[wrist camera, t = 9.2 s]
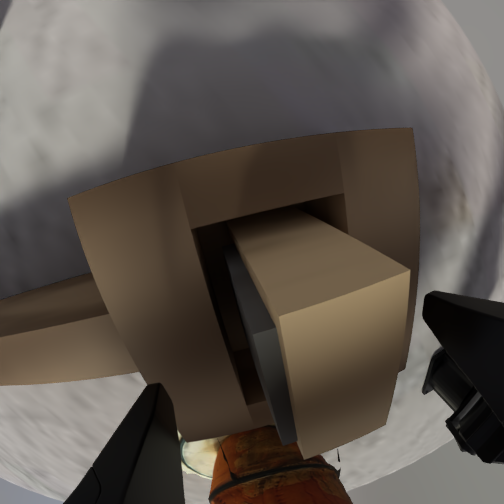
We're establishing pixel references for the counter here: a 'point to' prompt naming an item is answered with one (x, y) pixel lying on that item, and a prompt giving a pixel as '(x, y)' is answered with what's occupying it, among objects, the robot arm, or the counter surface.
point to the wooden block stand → (203, 269)
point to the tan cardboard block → (318, 324)
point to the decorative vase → (261, 470)
